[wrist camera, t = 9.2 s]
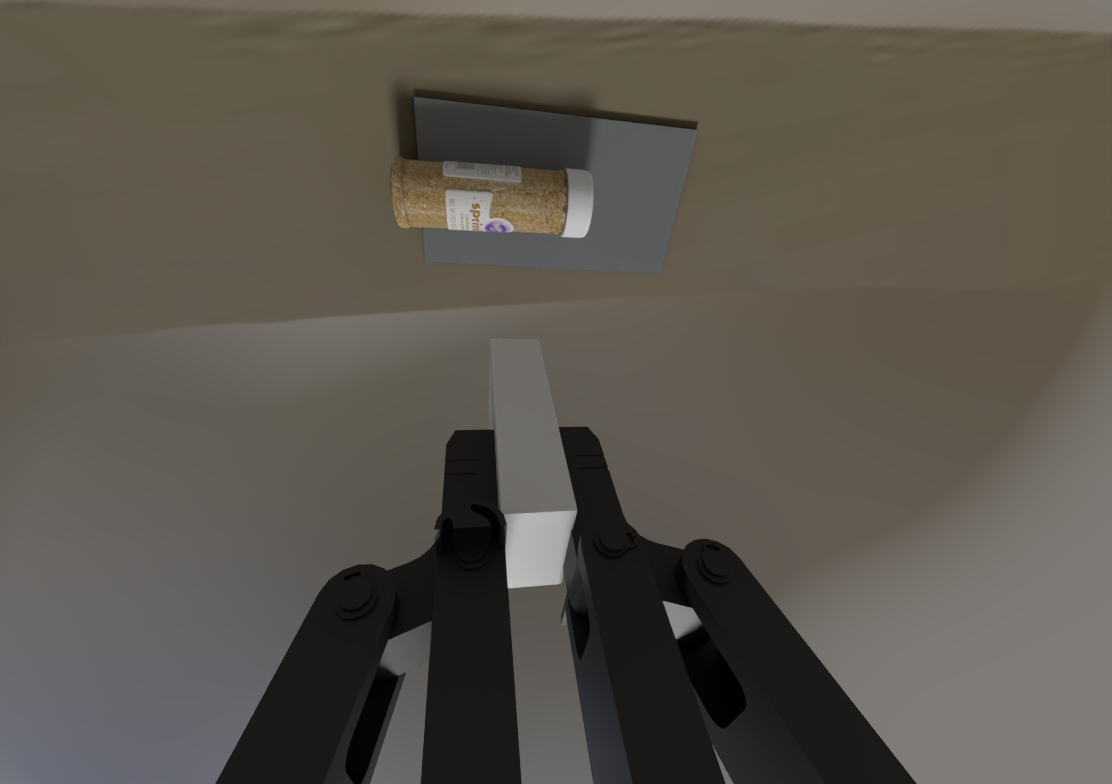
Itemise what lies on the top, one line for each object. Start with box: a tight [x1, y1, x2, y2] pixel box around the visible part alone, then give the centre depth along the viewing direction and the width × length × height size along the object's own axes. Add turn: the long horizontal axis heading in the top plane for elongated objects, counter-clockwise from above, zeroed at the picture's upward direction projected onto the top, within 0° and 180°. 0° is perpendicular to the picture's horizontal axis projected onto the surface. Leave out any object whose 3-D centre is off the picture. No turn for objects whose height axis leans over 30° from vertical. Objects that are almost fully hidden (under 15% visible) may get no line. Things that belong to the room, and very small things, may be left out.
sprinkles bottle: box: [390, 156, 594, 238], centre depth 31 cm, size 5×5×14 cm
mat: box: [414, 97, 698, 274], centre depth 34 cm, size 20×11×1 cm, turn 83°
